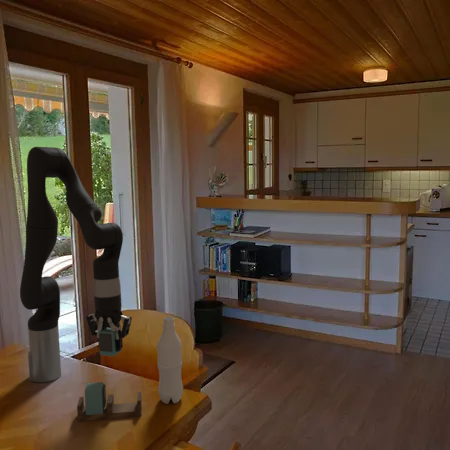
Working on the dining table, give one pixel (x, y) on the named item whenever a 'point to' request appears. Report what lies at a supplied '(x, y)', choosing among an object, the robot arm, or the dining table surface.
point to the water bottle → (169, 363)
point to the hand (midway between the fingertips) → (110, 349)
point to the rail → (111, 409)
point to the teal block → (107, 342)
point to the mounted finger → (95, 398)
